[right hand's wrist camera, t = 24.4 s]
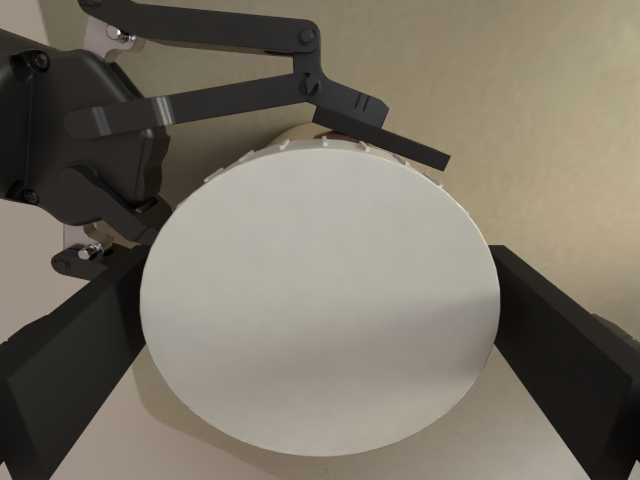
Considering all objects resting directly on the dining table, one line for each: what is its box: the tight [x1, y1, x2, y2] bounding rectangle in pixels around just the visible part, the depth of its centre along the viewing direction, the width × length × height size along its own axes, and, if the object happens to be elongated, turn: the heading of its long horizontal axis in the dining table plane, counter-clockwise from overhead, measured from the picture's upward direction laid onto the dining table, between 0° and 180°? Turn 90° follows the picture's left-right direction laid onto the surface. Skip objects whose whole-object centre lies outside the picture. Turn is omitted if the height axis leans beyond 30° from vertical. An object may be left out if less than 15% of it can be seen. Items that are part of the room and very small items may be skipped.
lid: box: [140, 136, 500, 457], centre depth 11 cm, size 10×10×2 cm
